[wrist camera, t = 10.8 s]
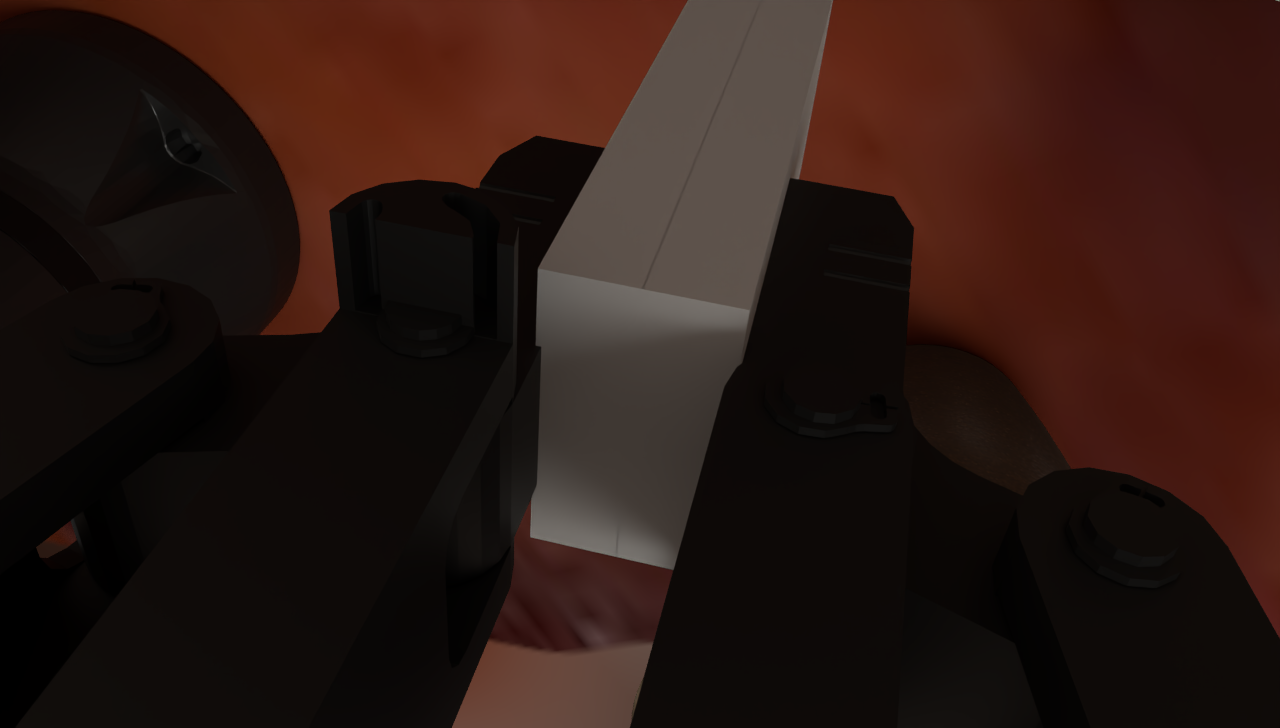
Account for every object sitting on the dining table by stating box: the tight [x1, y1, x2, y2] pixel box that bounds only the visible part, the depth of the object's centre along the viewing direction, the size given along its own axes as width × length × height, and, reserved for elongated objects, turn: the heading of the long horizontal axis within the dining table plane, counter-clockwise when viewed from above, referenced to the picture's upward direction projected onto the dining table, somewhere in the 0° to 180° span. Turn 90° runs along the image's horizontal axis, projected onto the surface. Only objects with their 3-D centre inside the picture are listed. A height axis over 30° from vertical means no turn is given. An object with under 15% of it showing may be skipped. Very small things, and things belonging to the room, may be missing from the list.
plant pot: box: [632, 345, 1071, 718], centre depth 37 cm, size 15×15×16 cm
